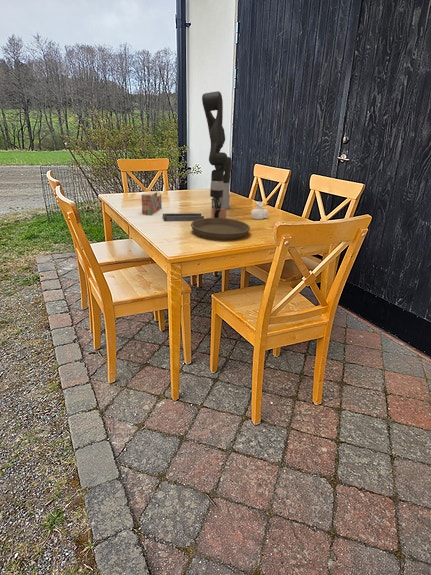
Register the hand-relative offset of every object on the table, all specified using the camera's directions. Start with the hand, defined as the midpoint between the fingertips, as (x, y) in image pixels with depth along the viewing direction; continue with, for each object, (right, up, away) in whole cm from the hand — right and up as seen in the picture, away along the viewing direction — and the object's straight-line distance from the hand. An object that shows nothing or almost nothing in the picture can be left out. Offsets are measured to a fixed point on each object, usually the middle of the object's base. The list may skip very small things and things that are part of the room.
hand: (215, 217), depth 220 cm
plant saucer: (+2, -14, -27) cm, 30 cm away
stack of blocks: (-40, +6, +11) cm, 42 cm away
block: (+2, -1, +1) cm, 2 cm away
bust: (+27, +1, +7) cm, 28 cm away
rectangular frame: (-18, -2, -4) cm, 19 cm away
